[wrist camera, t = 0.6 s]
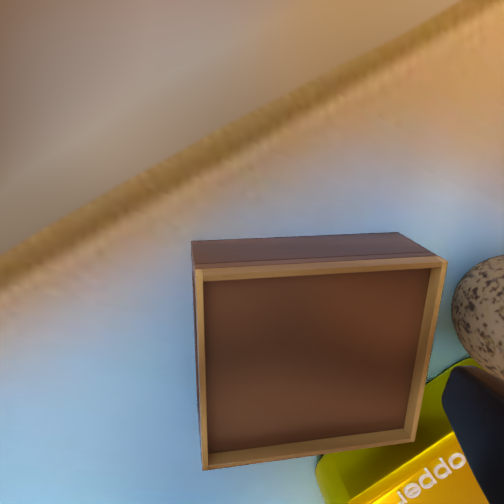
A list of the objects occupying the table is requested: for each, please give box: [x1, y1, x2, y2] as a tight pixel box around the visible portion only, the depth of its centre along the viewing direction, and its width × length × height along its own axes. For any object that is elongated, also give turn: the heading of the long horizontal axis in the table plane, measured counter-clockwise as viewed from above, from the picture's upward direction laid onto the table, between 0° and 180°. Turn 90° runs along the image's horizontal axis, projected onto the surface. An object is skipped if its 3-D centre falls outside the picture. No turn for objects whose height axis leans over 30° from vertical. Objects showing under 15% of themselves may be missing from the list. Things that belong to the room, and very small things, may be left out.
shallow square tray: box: [191, 232, 448, 471], centre depth 23 cm, size 11×12×5 cm
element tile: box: [315, 357, 489, 504], centre depth 30 cm, size 15×15×5 cm
